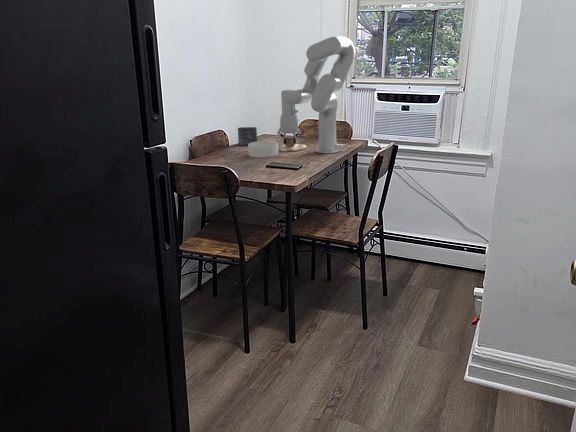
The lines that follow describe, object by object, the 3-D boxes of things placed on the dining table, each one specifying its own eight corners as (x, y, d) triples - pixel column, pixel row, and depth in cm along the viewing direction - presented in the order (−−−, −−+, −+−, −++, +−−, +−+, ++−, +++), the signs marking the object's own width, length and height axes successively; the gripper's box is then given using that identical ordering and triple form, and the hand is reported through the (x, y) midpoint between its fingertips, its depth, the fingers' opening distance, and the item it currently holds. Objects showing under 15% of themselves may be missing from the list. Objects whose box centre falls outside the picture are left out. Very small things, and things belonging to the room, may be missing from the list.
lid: (305, 144, 302) (304, 134, 300) (308, 150, 284) (307, 139, 282) (272, 146, 301) (272, 136, 299) (273, 152, 283) (273, 141, 281)
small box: (257, 144, 310) (256, 126, 307) (256, 146, 304) (255, 128, 301) (240, 144, 311) (239, 126, 308) (238, 146, 305) (237, 128, 302)
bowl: (277, 151, 285) (277, 140, 283) (278, 157, 270) (278, 145, 268) (249, 152, 285) (248, 141, 283) (248, 158, 269) (247, 147, 268)
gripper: (303, 111, 290) (303, 143, 295) (273, 112, 289) (274, 144, 295) (304, 112, 283) (305, 145, 288) (273, 114, 282) (275, 147, 288)
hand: (289, 144), depth 292 cm, fingers closed on lid, 4 cm apart
